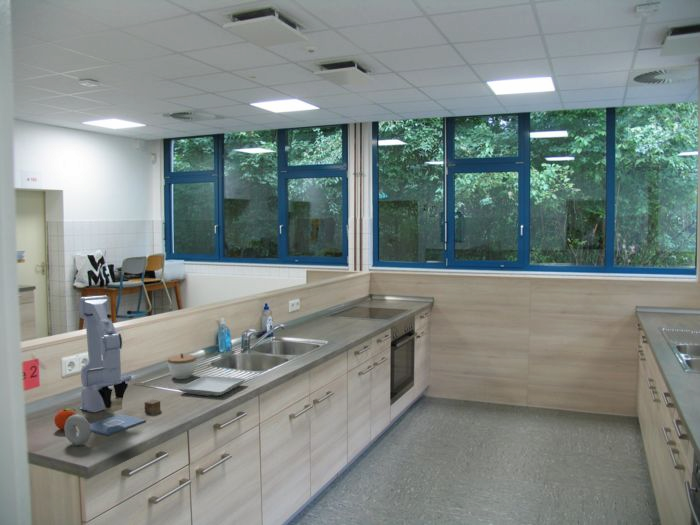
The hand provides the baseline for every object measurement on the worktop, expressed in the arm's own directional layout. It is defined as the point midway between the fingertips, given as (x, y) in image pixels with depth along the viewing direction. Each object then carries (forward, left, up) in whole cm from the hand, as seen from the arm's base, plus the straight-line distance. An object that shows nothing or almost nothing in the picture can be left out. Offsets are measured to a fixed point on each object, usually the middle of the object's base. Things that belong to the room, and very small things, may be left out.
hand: (113, 405), depth 204 cm
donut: (+6, -18, -7) cm, 20 cm away
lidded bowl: (-29, +59, -7) cm, 66 cm away
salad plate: (-1, +50, -8) cm, 51 cm away
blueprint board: (0, 0, -7) cm, 7 cm away
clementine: (-12, -10, -7) cm, 17 cm away
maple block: (0, 0, -2) cm, 2 cm away
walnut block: (0, +17, -7) cm, 18 cm away
